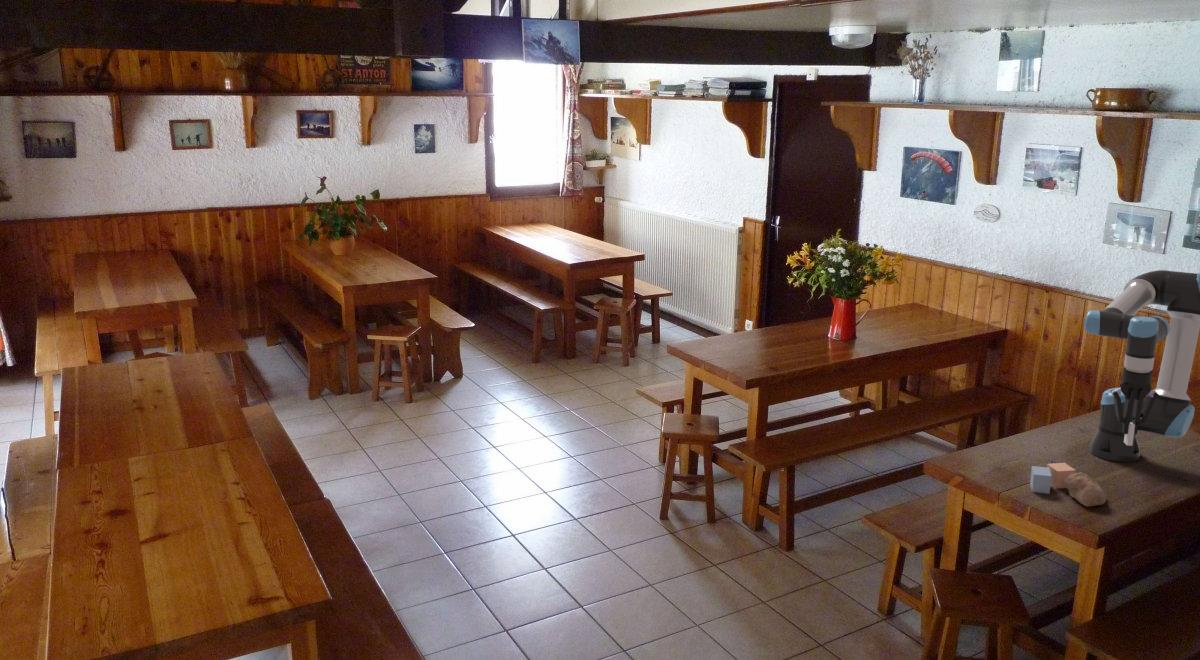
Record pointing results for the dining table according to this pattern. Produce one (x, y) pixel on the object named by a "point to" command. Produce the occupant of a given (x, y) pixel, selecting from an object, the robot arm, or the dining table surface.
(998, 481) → the dining table surface
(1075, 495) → the stone
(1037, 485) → the slate block
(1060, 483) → the terracotta block
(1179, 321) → the robot arm
